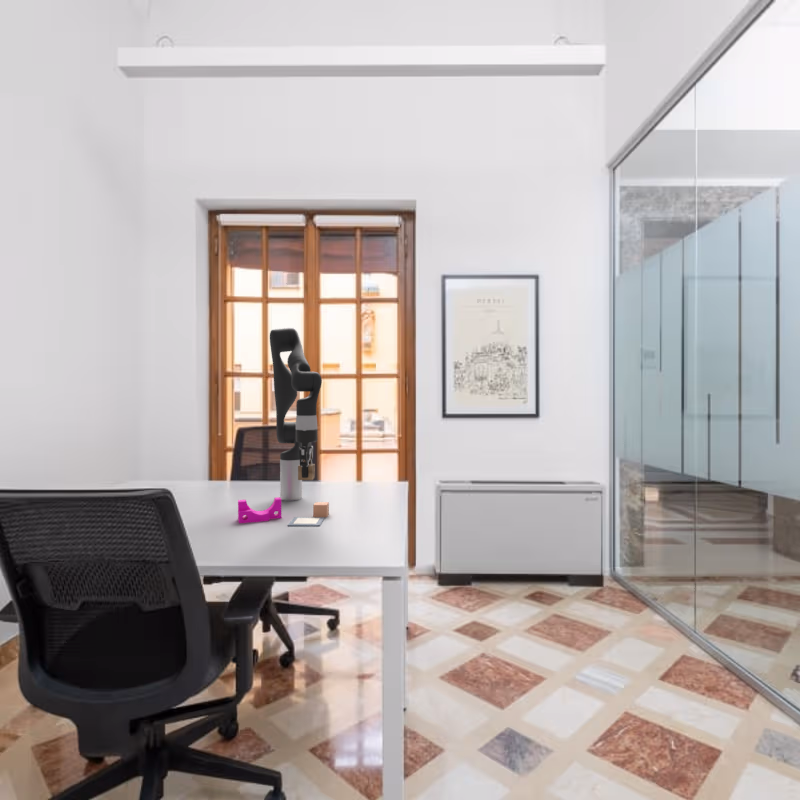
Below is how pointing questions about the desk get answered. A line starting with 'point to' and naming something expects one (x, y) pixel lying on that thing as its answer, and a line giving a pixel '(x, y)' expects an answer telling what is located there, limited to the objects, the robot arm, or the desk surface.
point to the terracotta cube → (321, 509)
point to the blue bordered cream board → (306, 521)
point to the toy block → (258, 512)
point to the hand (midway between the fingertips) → (306, 476)
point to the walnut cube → (310, 472)
